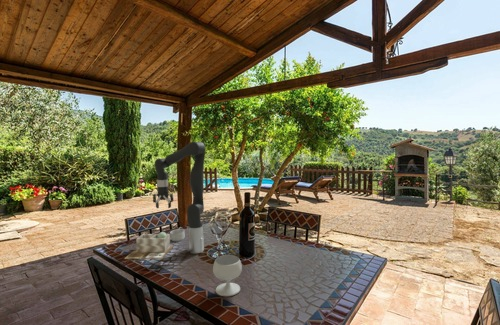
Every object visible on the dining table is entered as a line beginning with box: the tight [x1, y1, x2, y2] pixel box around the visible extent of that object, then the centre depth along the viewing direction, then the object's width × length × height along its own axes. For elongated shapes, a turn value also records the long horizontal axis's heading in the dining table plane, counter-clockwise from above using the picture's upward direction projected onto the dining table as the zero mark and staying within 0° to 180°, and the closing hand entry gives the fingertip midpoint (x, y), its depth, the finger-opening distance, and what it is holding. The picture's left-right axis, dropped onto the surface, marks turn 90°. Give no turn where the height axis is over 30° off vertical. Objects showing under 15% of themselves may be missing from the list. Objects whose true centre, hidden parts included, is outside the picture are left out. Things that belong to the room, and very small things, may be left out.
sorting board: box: [123, 233, 176, 260], centre depth 167 cm, size 25×23×10 cm
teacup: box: [169, 228, 185, 242], centre depth 194 cm, size 14×11×8 cm
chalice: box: [212, 254, 243, 297], centre depth 121 cm, size 14×14×15 cm
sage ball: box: [157, 231, 167, 239], centre depth 173 cm, size 6×6×6 cm
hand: (163, 208), depth 181 cm, fingers open, 8 cm apart
